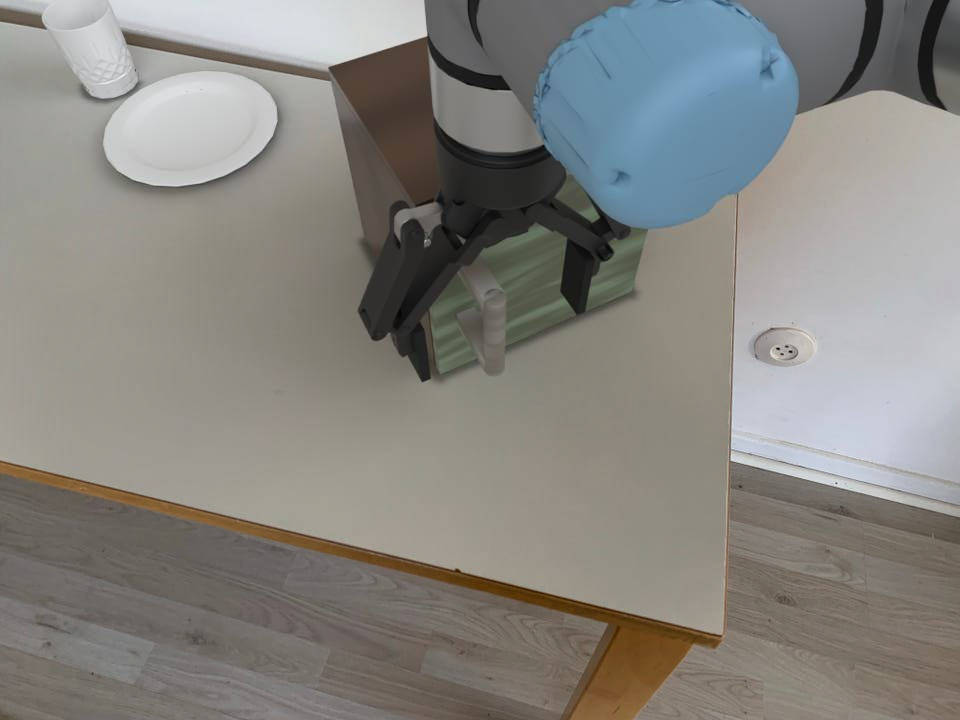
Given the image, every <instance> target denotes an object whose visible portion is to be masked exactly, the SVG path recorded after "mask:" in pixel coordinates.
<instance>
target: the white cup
mask: <svg viewBox="0 0 960 720" xmlns="http://www.w3.org/2000/svg"><path fill="white" fill-rule="evenodd" d="M41 22H42V23H43V25H44V27H45V29H46V30H47V32H48V33H49V35H50V36H51V38H52V40H53V41H54V43H55V45H56V46H57V48H58V49H59V51H60V53H61V54H62V56H63V58H64V59H65V61H66V62H67V64H68V65H69V67H70V69H71V70H72V72H73V73H74V75H75V76H76V77H77V78H78V80H79V82H80V83H81V85H82V84H83V85H84V86H85V87H86V88H87V89H86V88H85V87H84V86H83V85H82V86H83V88H84V90H85V91H86V92H87V93H88V94H89V95H90V96H91V97H95V98H97V99H101V100H103V99H104V100H105V99H114V98H117V97H120V96H124V95H126V94H127V93H129V92H130V91H132V90H133V89H134V88H135V86H136V85H137V83H138V82H139V74H138V71H137V69H136V76H135V77H134V79H133V80H132V82H131V83H129V82H130V81H131V79H132V77H133V76H134V74H135V68H136V66H135V63H134V61H133V58H132V55H131V51H130V49H129V47H128V44H127V41H126V39H125V36H124V34H123V31H122V29H121V27H120V25H119V22H118V20H117V17H116V15H115V13H114V10H113V7H112V5H111V3H110V0H54V1H52V2H51V3H50V4H48V5H47V6H46V7H45V9H44V10H43V11H42V14H41ZM134 66H135V67H134ZM128 83H129V84H128ZM126 84H128V85H127V86H126ZM124 86H125V87H124ZM123 87H124V88H123ZM121 88H122V89H121ZM118 89H119V90H118ZM88 90H89V91H88ZM92 91H93V92H92ZM108 92H109V93H108Z"/></svg>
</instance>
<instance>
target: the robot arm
mask: <svg viewBox="0 0 960 720" xmlns="http://www.w3.org/2000/svg"><path fill="white" fill-rule="evenodd" d="M423 3H424V17H425V27H426V36H427V39H428V55H429V68H430V80H431V93H432V106H433V112H434V136H435V148H436V161H437V171H438V177H439V190H438V192H437V194H436V196H435V199H434V202H433V203H430V204H426V205H423V206H419V207H416V208H412V209H411V208H410V207H409V205H408V203H407V202H406V201H404V200H399V201H396V202H394V203H393V204H392V205H391V207H390V209H389V233H388V236H387V238H386V241H385V243H384V246H383V248H382V251H381V253H380V256H379V258H378V261H377V262H376V263H375V266H374V268H373V269H372V270H373V271H372V273H371V275H370V278H369V281H368V283H367V285H366V288H365V290H364V293H363V296H362V298H361V300H360V302H359V304H358V308H357V314H358V315H359V318H360V321H361V322H362V324H363V326H364V328H365V330H366V332H367V333H368V335H369V337H370V339H371V340H372V341H373V342H378V341H382V340H383V339H385V338H386V337H387V335H388V334H390V339H391V342H392V344H393V346H394V347H395V349H396V351H397V353H398V355H399V356H400V357H401V358H405V357H408V359H409V362H410V363H411V365H412V366H413V368H414V370H415V372H416V374H417V376H418V378H419V380H420V382H421V383H425V382H427V381H429V380H431V379H432V376H431V367H430V358H429V355H428V351H427V344H426V336H425V330H424V328H423V326H422V324H421V323H420V320H421V319H422V317H423V316H424V315H425V314H426V312H427V311H428V310H429V308H430V307H431V306H432V304H433V303H434V302H435V301H436V299H437V298H438V297H439V295H440V294H441V293H442V292H443V290H444V289H445V288H446V286H447V285H448V284H449V283H450V281H451V280H452V279H453V277H454V276H455V275H456V273H457V272H458V271H459V270H460V268H461V267H462V266H466V267H468V266H470V265H471V264H472V263H473V262H474V260H475V259H476V258H477V256H478V255H479V254H480V253H481V251H482V250H483V249H484V247H485V248H489V247H491V246H494V245H496V244H498V243H500V242H501V241H503V240H505V239H506V238H510V237H515V236H519V235H522V234H524V233H527V232H528V229H529V228H530V227H531V226H533V225H534V224H535V223H538V224H539V225H541V226H543V227H545V228H546V229H548V230H550V231H551V232H554V231H556V232H558V233H560V234H561V235H563V236H565V237H567V244H566V251H565V259H564V266H563V273H562V281H561V288H560V292H561V293H562V295H563V296H564V298H565V299H566V301H567V302H568V303H569V305H570V306H571V308H572V309H573V310H574V312H575V313H576V315H577V316H579V315H581V314H583V313H586V312H585V310H586V305H587V300H588V294H589V289H590V284H591V279H592V277H593V276H596V275H597V273H598V271H599V269H600V264H601V262H606V261H608V260H610V259H611V258H612V257H613V255H614V250H613V249H612V248H611V246H610V245H609V244H608V243H609V242H610V241H611V240H613V239H614V238H617V239H618V240H623V239H625V238H626V237H628V236H629V234H630V233H631V228H630V226H631V227H635V228H642V229H648V230H660V229H668V228H672V227H676V226H680V225H683V224H687V223H689V222H692V221H694V220H696V219H699V218H701V217H703V216H705V215H707V214H709V213H710V211H711V210H712V209H713V208H714V207H715V205H716V204H717V203H718V202H719V201H721V200H723V199H724V198H725V197H726V196H731V195H738V194H739V193H740V192H742V191H743V190H744V189H745V188H746V187H748V186H749V185H750V184H751V183H752V182H754V180H755V179H756V178H757V177H758V176H759V175H760V174H761V173H762V172H763V170H765V168H766V167H767V166H768V165H769V164H770V163H771V161H773V159H774V158H775V157H776V155H777V153H778V152H779V150H780V149H781V147H782V145H784V143H785V141H786V139H787V137H788V135H789V133H790V131H791V129H792V126H793V124H794V121H795V118H796V116H798V115H800V114H804V113H807V112H810V111H813V110H815V109H817V108H821V107H825V106H828V105H831V104H835V103H838V102H841V101H844V100H848V99H850V98H853V97H856V96H860V95H862V94H866V93H870V92H875V91H876V92H877V91H885V92H893V93H895V94H897V95H900V96H903V97H905V98H908V99H910V100H913V101H915V102H918V103H919V104H923V105H926V106H930V107H933V108H936V109H939V110H941V111H945V112H948V113H950V114H953V115H955V116H958V117H960V0H423ZM566 176H571V177H572V179H573V180H574V181H578V182H579V184H580V185H581V186H582V187H583V189H584V190H585V192H586V194H587V196H588V198H589V199H590V201H591V203H592V205H593V206H594V208H595V210H596V212H597V214H598V215H599V217H600V218H599V219H598V220H596V221H595V222H593V223H592V222H591V221H590V220H588V219H587V218H585V217H584V216H582V215H581V214H579V213H578V212H576V211H575V210H573V209H572V208H570V207H569V206H567V205H565V204H564V203H562V202H561V201H559V200H558V199H556V198H555V196H556V195H557V193H558V192H559V191H560V189H561V188H562V186H563V185H564V183H565V181H566ZM432 230H433V237H432V239H431V240H430V238H429V237H430V235H431V232H432ZM456 234H457V235H458V236H460V237H462V238H463V239H465V240H466V241H465V243H464V244H462V242H461V241H460V239H459V238H458V236H457V235H456ZM424 247H425V248H424Z"/></svg>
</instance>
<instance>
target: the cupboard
mask: <svg viewBox="0 0 960 720" xmlns="http://www.w3.org/2000/svg"><path fill="white" fill-rule="evenodd" d="M327 69H328V73H329V74H328V75H329V79H330V84H331V89H332V93H333V98H334V102H335V108H336V111H337V117H338V121H339V125H340V129H341V136H342V139H343V144H344V149H345V153H346V158H347V163H348V167H349V172H350V177H351V180H352V186H353V191H354V195H355V201H356V204H357V209H358V214H359V220H360V223H361V229H362V232H363V233H362V234H363V237H364V242H365V245H366V246H367V248H368V249H369V252H370V253H371V255H372V257H373V258H374V260H375V262H376V263H377V261H378V258H379V256H380V253H381V251H382V248H383V246H384V243H385V241H386V238H387V236H388V233H389V209H390V207H391V205H392V204H393V203H394V202H396V201H399V200H404V201H406V202H407V203H408V205H409V207H410V208H411V209H412V208H416V207H419V206H423V205H426V204H430V203H433V202H434V199H435V196H436V194H437V192H438V190H439V177H438V171H437V161H436V148H435V136H434V112H433V106H432V93H431V80H430V68H429V55H428V39H427V35H426V36H423V37H419V38H417V39H414V40H410V41H407V42H404V43H401V44H398V45H394V46H391V47H388V48H384V49H381V50H378V51H374V52H372V53H369V54H366V55H363V56H359V57H355V58H352V59H349V60H347V61H346V60H345V61H343V62H339V63H337V64H333V65H330V66H328V67H327ZM420 323H421V324H422V326H423V328H424V330H425V336H426V344H427V351H428V358H429V359H430V360H431V362H432V364H433V366H435V367H436V363H435V354H434V346H433V338H432V329H431V321H430V313H429V310H428V311H427V312H426V314H425V315H424V316H423V317H422V319H421V320H420Z"/></svg>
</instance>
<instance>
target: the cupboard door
mask: <svg viewBox="0 0 960 720" xmlns="http://www.w3.org/2000/svg"><path fill="white" fill-rule="evenodd" d="M555 198H556V199H558V200H559V201H561V202H562V203H564V204H565V205H567V206H569V207H570V208H572V209H573V210H575V211H576V212H578V213H579V214H581V215H582V216H584V217H585V218H587V219H588V220H590V221H591V222H592V223H593V222H595V221H596V220H598V219H599V218H600V217H599V215H598V214H597V212H596V210H595V208H594V206H593V205H592V203H591V201H590V199H589V198H588V196H587V194H586V192H585V190H584V189H583V187H582V186H581V185H580V184H579V182H578V181H574V180H573V179H572V177H571V176H566V181H565V183H564V185H563V186H562V188H561V189H560V191H559V192H558V193H557V195H556V196H555ZM630 228H631V233H630V234H629V236H628V237H626V238H625V239H623V240H618V239H617V238H614V239H613V240H611V241H610V242H609V243H608V244H609V245H610V246H611V248H612V249H613V250H614V255H613V257H612V258H611V259H610V260H608V261H606V262H601V264H600V269H599V271H598V273H597V275H596V276H593V277H592V279H591V284H590V289H589V294H588V300H587V305H586V310H585V312H584V313H586V312H588V311H590V310H593V309H595V308H597V307H600V306H602V305H604V304H606V303H609V302H611V301H614V300H616V299H618V298H621V297H623V296H625V295H628V294H630V293H632V292H633V289H634V285H635V281H636V276H637V272H638V269H639V265H640V262H641V257H642V255H643V250H644V246H645V242H646V239H647V236H648V235H647V234H648V231H649V229H642V228H635V227H631V226H630ZM456 235H457V234H456ZM457 236H458V235H457ZM432 237H433V230H432V232H431V235H430V237H429V238H430V240H431V239H432ZM458 238H459V239H460V241H461V242H462V244H464V243H465V241H466V240H465V239H463V238H462V237H460V236H458ZM566 244H567V237H565V236H563V235H561V234H560V233H558V232H556V231H554V232H551V231H550V230H548V229H546V228H545V227H543V226H541V225H539V224H538V223H535V224H534V225H533V226H531V227H530V228H529V229H528V232H527V233H524V234H522V235H519V236H515V237H510V238H506V239H505V240H503V241H501V242H500V243H498V244H496V245H494V246H491V247H489V248H485V247H484V249H483V250H482V251H481V253H480V254H479V255H478V256H477V258H476V259H475V260H474V262H473V263H472V264H471V265H470V266H468V267H466V266H462V267H461V268H460V270H459V271H458V272H457V273H456V275H455V276H454V277H453V279H452V280H451V281H450V283H449V284H448V285H447V286H446V288H445V289H444V290H443V292H442V293H441V294H440V295H439V297H438V298H437V299H436V301H435V302H434V303H433V304H432V306H431V307H430V308H429V313H430V321H431V329H432V338H433V346H434V354H435V363H436V366H435V368H436V370H437V372H438V374H439V375H443V374H445V373H448V372H450V371H452V370H454V369H456V368H458V367H462V366H463V365H466V364H469V363H470V362H473V361H475V360H477V361H478V363H479V365H480V366H481V369H482V370H483V371H484V373H485V374H486V375H488V376H489V377H499V376H501V375H503V373H504V372H505V369H506V368H505V367H506V347H507V346H509V345H512V344H514V343H517V342H519V341H521V340H524V339H526V338H528V337H530V336H533V335H535V334H537V333H540V332H542V331H544V330H547V329H549V328H551V327H554V326H556V325H558V324H561V323H563V322H565V321H567V320H569V319H572V318H574V317H576V316H578V315H576V313H575V312H574V310H573V309H572V308H571V306H570V305H569V303H568V302H567V301H566V299H565V298H564V296H563V295H562V293H561V292H560V288H561V281H562V273H563V266H564V259H565V251H566ZM424 248H425V247H424Z"/></svg>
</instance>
